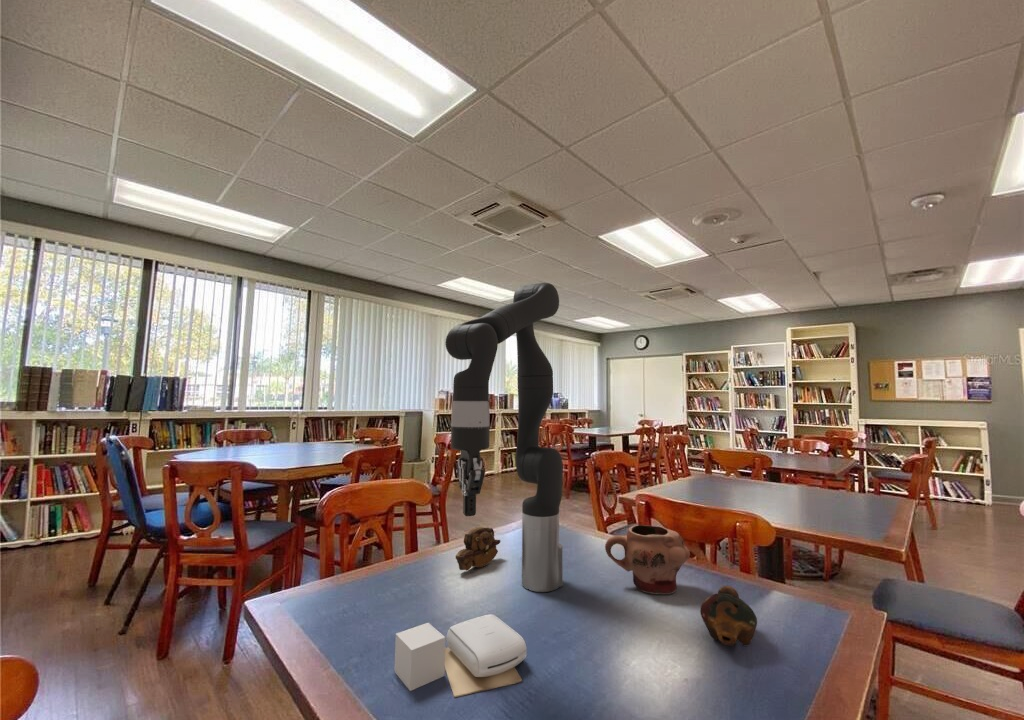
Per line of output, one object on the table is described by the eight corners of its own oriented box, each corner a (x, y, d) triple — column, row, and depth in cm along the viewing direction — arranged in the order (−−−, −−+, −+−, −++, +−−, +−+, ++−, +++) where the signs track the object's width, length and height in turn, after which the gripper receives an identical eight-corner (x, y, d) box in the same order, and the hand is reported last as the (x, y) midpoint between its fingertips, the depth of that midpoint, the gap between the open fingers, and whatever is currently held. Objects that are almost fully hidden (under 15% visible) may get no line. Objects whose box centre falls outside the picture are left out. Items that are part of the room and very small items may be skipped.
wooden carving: (467, 578, 107) (468, 538, 108) (453, 574, 109) (454, 534, 110) (503, 559, 120) (503, 522, 121) (490, 555, 123) (490, 520, 124)
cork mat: (497, 639, 79) (497, 637, 79) (522, 681, 67) (522, 680, 67) (438, 650, 76) (438, 648, 76) (454, 697, 63) (454, 696, 63)
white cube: (394, 672, 69) (395, 633, 70) (427, 659, 73) (428, 622, 74) (410, 691, 65) (411, 650, 65) (444, 676, 69) (445, 637, 69)
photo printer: (494, 610, 81) (532, 640, 71) (494, 633, 81) (532, 667, 71) (445, 624, 76) (479, 659, 65) (445, 650, 75) (478, 689, 65)
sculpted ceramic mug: (611, 598, 96) (610, 535, 98) (601, 576, 108) (600, 521, 110) (699, 600, 96) (697, 536, 97) (679, 578, 108) (678, 522, 110)
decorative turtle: (753, 626, 85) (752, 585, 85) (764, 669, 71) (761, 619, 72) (701, 616, 89) (699, 576, 89) (701, 655, 75) (699, 607, 76)
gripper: (499, 425, 78) (498, 522, 76) (479, 422, 90) (478, 505, 89) (459, 426, 75) (457, 526, 74) (445, 423, 88) (443, 508, 86)
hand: (469, 514), depth 81 cm, fingers closed
